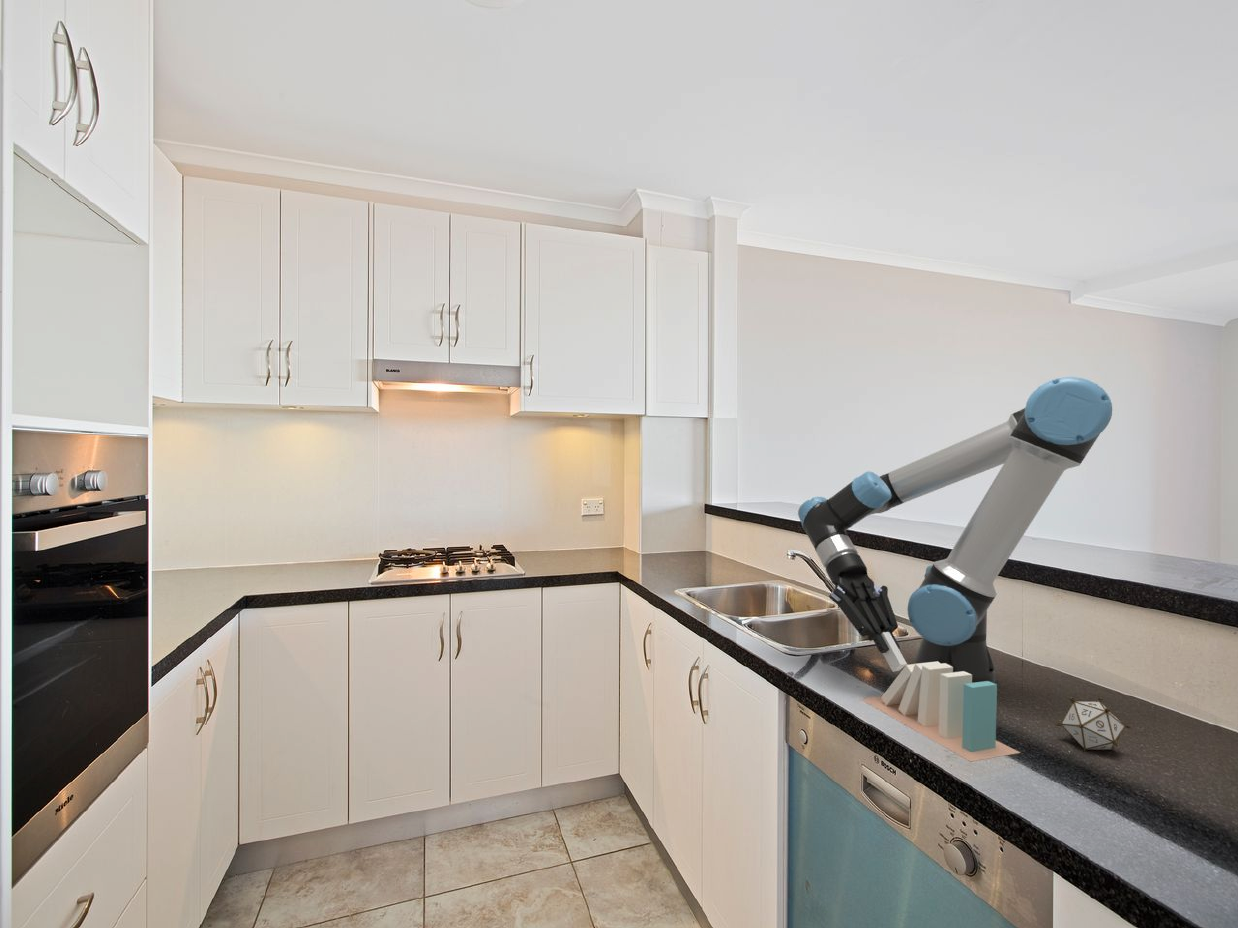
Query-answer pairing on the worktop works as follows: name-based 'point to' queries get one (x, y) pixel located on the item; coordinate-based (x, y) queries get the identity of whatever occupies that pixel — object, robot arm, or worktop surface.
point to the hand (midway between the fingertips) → (899, 667)
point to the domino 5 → (979, 716)
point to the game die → (1093, 725)
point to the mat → (933, 733)
